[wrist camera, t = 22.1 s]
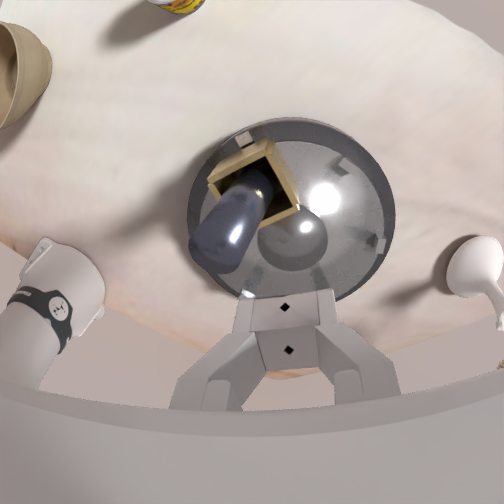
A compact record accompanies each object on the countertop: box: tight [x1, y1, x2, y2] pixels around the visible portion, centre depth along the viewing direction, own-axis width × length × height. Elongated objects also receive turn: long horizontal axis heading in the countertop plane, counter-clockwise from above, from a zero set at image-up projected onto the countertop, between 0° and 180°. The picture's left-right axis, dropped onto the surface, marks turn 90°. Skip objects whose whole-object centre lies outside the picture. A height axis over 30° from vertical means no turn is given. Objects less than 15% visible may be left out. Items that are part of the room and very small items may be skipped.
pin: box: [189, 156, 280, 274], centre depth 28 cm, size 4×4×14 cm
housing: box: [187, 117, 396, 302], centre depth 40 cm, size 26×26×4 cm
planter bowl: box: [0, 21, 52, 131], centre depth 29 cm, size 16×16×11 cm
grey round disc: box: [197, 136, 386, 300], centre depth 35 cm, size 23×22×7 cm
